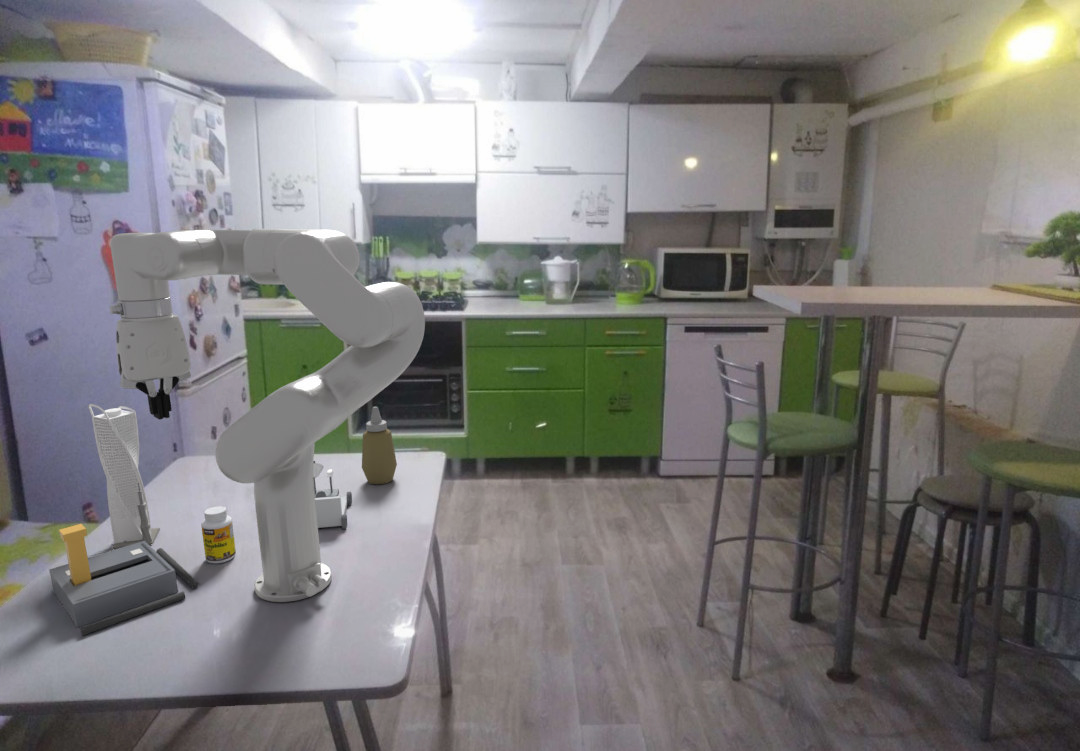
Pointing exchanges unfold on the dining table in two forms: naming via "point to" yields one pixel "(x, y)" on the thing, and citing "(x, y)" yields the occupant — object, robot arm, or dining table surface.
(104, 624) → the grey thin bar
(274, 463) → the robot arm
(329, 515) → the toy rover
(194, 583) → the dark grey rod
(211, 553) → the supplement bottle
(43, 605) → the dining table surface
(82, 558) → the breaker lever
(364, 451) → the squeeze bottle
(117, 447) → the skyscraper
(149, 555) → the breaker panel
